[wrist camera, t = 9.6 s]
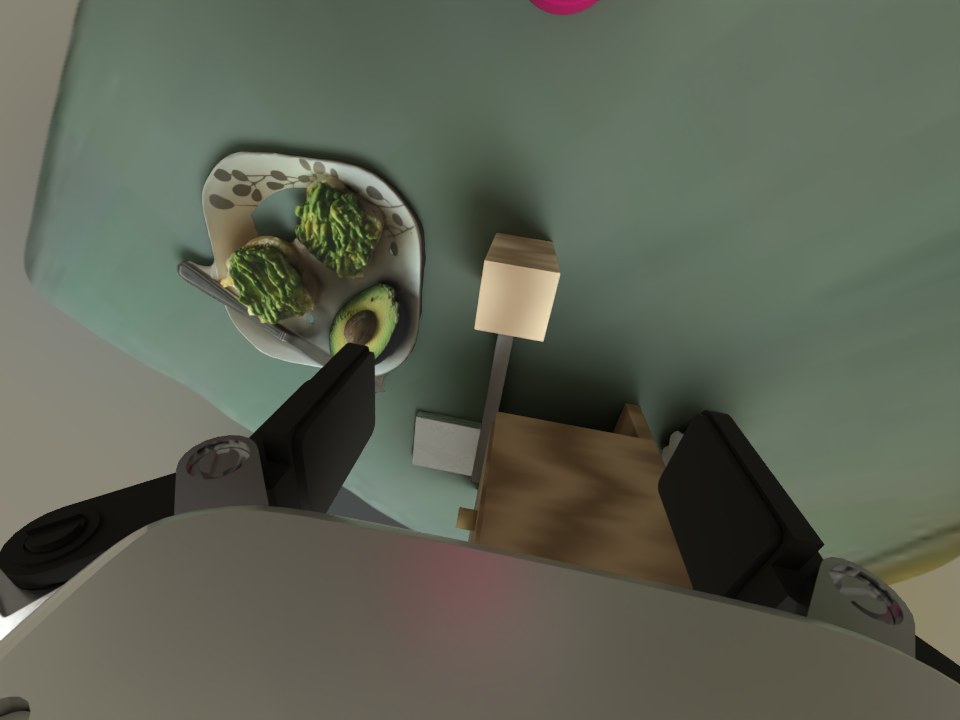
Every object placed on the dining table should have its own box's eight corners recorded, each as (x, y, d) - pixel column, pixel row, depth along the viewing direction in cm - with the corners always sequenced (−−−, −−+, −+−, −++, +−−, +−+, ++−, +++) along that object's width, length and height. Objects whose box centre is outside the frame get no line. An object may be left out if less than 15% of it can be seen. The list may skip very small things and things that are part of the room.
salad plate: (214, 349, 35) (172, 375, 31) (163, 126, 26) (97, 121, 22) (417, 389, 34) (402, 420, 30) (435, 176, 25) (418, 180, 21)
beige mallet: (552, 241, 26) (560, 273, 19) (498, 474, 38) (491, 547, 31) (496, 232, 26) (484, 260, 19) (459, 467, 38) (443, 537, 31)
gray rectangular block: (482, 419, 35) (480, 429, 34) (473, 465, 38) (471, 476, 37) (420, 407, 35) (416, 416, 34) (416, 453, 38) (412, 464, 37)
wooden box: (639, 405, 32) (729, 612, 17) (592, 513, 39) (628, 724, 24) (484, 377, 32) (448, 556, 18) (465, 488, 39) (428, 682, 25)
